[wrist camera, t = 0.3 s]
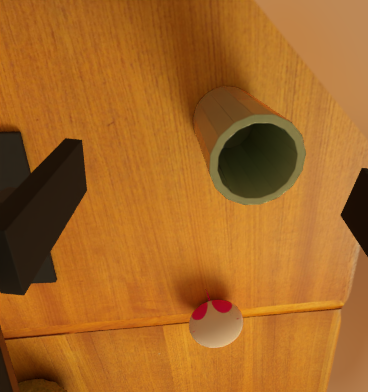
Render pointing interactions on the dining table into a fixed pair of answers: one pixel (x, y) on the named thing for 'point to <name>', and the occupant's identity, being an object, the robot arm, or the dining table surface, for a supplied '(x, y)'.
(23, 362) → the dining table surface
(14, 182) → the mat
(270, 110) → the cup
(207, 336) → the stress ball
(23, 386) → the fruit
